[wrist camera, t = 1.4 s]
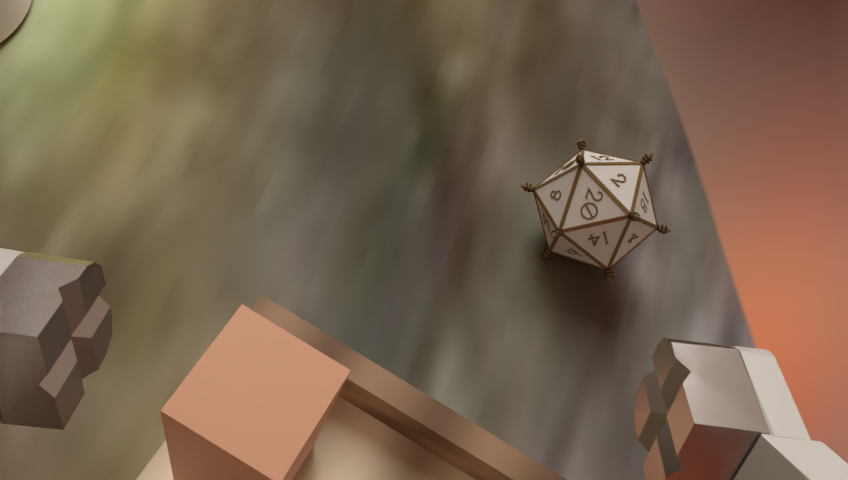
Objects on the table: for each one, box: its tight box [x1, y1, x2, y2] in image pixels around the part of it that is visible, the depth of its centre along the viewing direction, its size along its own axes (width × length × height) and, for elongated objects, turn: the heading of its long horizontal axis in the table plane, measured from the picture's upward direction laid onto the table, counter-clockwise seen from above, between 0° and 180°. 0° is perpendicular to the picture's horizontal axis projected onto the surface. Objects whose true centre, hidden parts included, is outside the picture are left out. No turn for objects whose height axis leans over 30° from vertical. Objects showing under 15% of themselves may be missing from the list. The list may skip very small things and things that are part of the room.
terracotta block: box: [161, 304, 351, 480], centre depth 33 cm, size 5×5×12 cm
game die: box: [521, 138, 671, 283], centre depth 48 cm, size 9×8×10 cm
